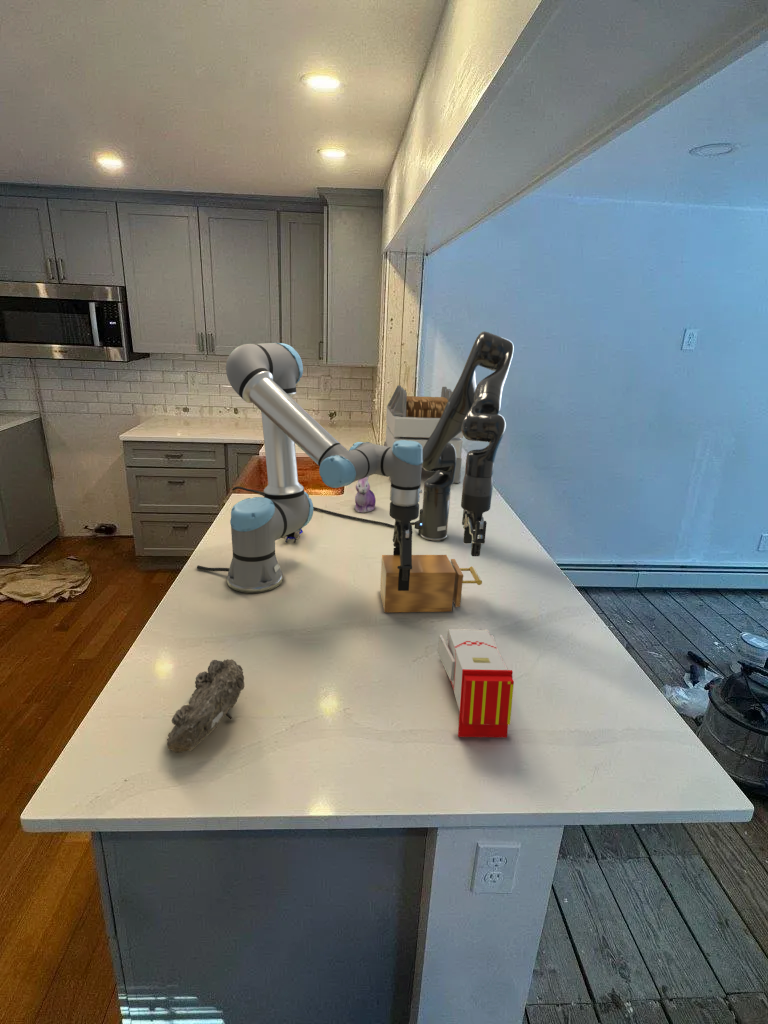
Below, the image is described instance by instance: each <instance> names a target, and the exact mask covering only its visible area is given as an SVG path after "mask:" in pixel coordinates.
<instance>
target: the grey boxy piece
mask: <svg viewBox="0 0 768 1024" xmlns="http://www.w3.org/2000/svg"><path fill="white" fill-rule="evenodd" d="M452 392H453V390H452V389H451V388H447V386H442V387H441V392H440V393H441V394H440V396H415V395H414V396H413V395H412V396H411V395H407V394H408V393H407V390H406V389H404V388H403V387H402V385H399V384H398V385H397V386H396V388H395V390H394V392H393V394H392V395H391V398H390V400H389V402H388V404H387V405H386V413H385V414H386V415H385V423H386V428H385V438H384V442H383V446H388V447H393V443H394V442H396V441H400V440H407V441H416V442H418V443H420V444H421V445H422V448H423V447H424V445H425V444H426V442H427V441H428V439H429V437H430V436H431V434H432V433H433V431H434V429H435V427H436V426H437V424H438V422H439V420H440V418H441V416H442V414H443V411H444V409H445V407H446V404H447V402H448V400H449V398H450V396H451V394H452ZM463 438H464V436H463V434H462V432H461V433H459V434H458V435H457V436H456V437H454V438H453V439H452V440H451V441H450V442H449V443H451V444H452V445H453V446H454V448H455V451H456V467H455V473H454V481H453V484H455V483H456V484H459V483H461V472H462V461H463V460H462V453H463V442H464V441H463V440H462V439H463ZM388 478H389V480H390V481H391V477H388Z"/></svg>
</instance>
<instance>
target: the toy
mask: <svg viewBox="0 0 768 1024" xmlns="http://www.w3.org/2000/svg"><path fill="white" fill-rule="evenodd" d="M446 640H447V643H446V641H445V639H444V636H443V635H442V634H439V637H438V646H437V656H438V657H439V659H440V661H441V663H442V666H443V668H444V670H445V672H446V674H447V677H448V679H449V681H450V684H451V687H452V690H453V693H454V697H455V701H456V705H457V708H458V711H459V714H458V715H459V716H458V730H457V731H458V732H457V737H458V738H508V731H509V726H510V725H511V717H512V707H513V697H514V696H513V695H514V684H515V680H514V679H513V673H514V671H513V670H512V669H508V667H507V665H506V662H505V661H504V659H503V658H502V655H501V653H500V651H499V649H498V647H497V643H496V639H495V637H494V635H493V634H491V632H490V631H489V629H467V628H466V629H465V628H463V629H461V628H460V629H459V628H448V630H447V639H446Z"/></svg>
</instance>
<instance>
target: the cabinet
mask: <svg viewBox="0 0 768 1024" xmlns="http://www.w3.org/2000/svg"><path fill="white" fill-rule="evenodd" d="M450 561H451V560H450V559H449V557H448V555H447V554H412V569H410V579H409V591H398V580H399V569H398V568H397V567H398V566H400V555H393V554H381V566H380V587H379V591H380V592H379V593H380V599H381V603H382V609H383V613H439V612H440V613H445V612H447V613H450V612H451V613H452V612H453V604H454V602H453V593H454V582H455V571H454V569H453V567H452V565H451V563H450Z"/></svg>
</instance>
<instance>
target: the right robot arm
mask: <svg viewBox="0 0 768 1024" xmlns="http://www.w3.org/2000/svg"><path fill="white" fill-rule="evenodd" d="M514 350H515V347H514V343H513V342H512V341H511V340H510V339H507V338H505V337H502V336H499V335H497V334H494V333H492V332H489V331H482V332H480V333H479V334H478V335H477V337H476V338H475V340H474V342H473V345H472V346H471V349H470V352H469V354H468V356H467V359H466V362H465V364H464V367H463V370H462V372H461V375H460V376H459V379H458V380H457V382H456V385H455V387H454V388H453V390H452V394H451V396H450V398H449V400H448V402H447V404H446V407H445V409H444V411H443V414H442V416H441V418H440V420H439V422H438V424H437V426H436V427H435V429H434V431H433V433H432V434H431V436H430V437H429V439H428V441H427V442H426V444H425V445H424V447H423V464H422V470H424V471H426V472H434V473H433V474H432V475H431V476H429V477H428V478H426V479H425V480H424V482H423V491H422V496H423V497H422V506H421V508H420V509H419V516H418V519H417V520H416V521H410V523H411V525H412V526H414V529H415V530H417V535H418V536H420V538H421V539H424V540H426V541H432V542H440V541H444V540H446V539H447V538H448V525H449V517H450V516H449V514H450V504H451V494H452V493H451V491H452V486H453V484H454V483H453V481H454V473H455V467H456V451H455V448H454V446H453V445H452V444H451V443H449V442H450V441H451V440H452V439H453V438H454V437H456V436H457V435H458V434H459V433H461V432H462V434H463V438H464V439H466V440H467V441H470V442H479V443H480V442H481V443H482V442H483V443H488V444H487V446H485V447H483V448H477V449H472V450H469V451H468V452H467V454H466V456H465V457H466V458H465V470H464V477H463V480H462V490H461V500H460V501H461V502H460V507H461V509H463V510H462V511H463V512H462V520H461V525H462V529H463V538H462V542H463V544H464V545H470V544H471V548H470V555H471V557H480V555H481V549H482V548H481V547H482V544H483V545H484V544H485V542H486V533H487V524H488V523H487V520H485V518H484V516H483V515H484V513H486V512H489V511H490V510H491V506H492V505H491V504H492V496H493V487H494V468H495V460H496V456H497V452H498V449H499V447H500V444H501V442H502V440H503V438H504V435H505V432H506V430H507V423H506V420H505V417H504V416H503V415H502V414H500V411H501V405H502V395H503V390H504V386H505V383H506V380H507V377H508V374H509V370H510V366H511V363H512V360H513V356H514ZM477 367H481V368H484V369H486V370H490V371H492V373H490V374H489V375H487V376H485V377H484V378H482V379H481V380H480V381H479V382H478V384H477V382H476V379H477V378H476V369H477ZM235 490H243V491H246V492H249V493H250V492H251V493H255V494H259V495H263V496H264V491H260V490H256V489H250V488H248V487H244V486H243V487H242V486H235V487H233V488H232V489H231V491H235ZM313 510H314V511H318V512H322V513H325V514H330V515H333V516H337V517H342V518H346V519H350V520H355V521H361V522H366V523H371V524H376V525H381V526H386V527H389V528H393V529H394V527H395V524H391V523H388V522H383V521H379V520H378V521H377V520H372V519H367V518H362V517H357V516H351V515H348V514H344V513H339V512H335V511H330V510H326V509H323V508H319V507H316V506H313ZM478 536H479V537H478Z"/></svg>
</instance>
